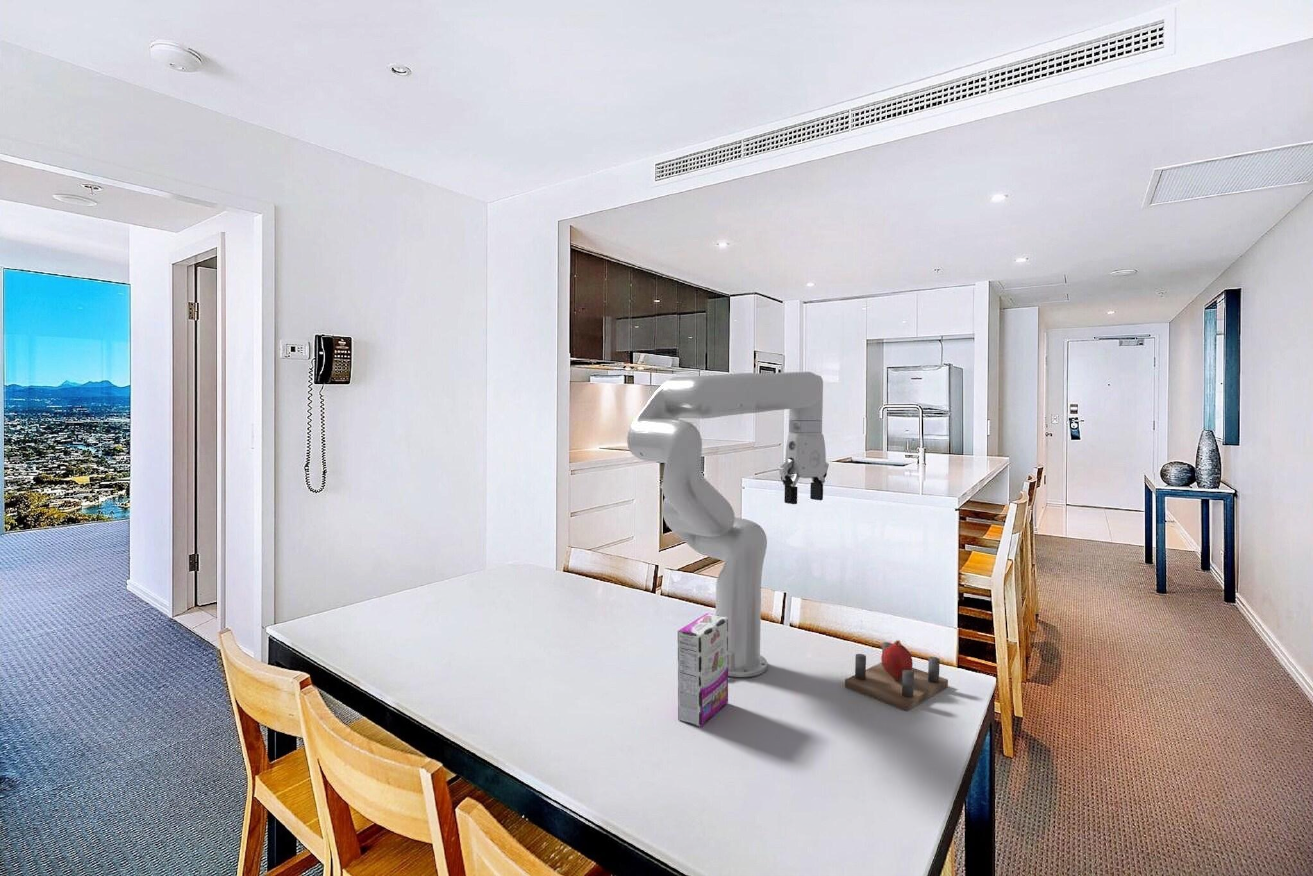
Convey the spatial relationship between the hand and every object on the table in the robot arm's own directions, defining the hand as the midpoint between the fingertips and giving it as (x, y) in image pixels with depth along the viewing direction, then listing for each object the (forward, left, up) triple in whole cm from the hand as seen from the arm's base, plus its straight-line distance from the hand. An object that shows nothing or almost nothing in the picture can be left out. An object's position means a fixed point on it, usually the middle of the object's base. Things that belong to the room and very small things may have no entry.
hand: (803, 501), depth 150 cm
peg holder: (-5, -27, -33) cm, 43 cm away
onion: (-5, -27, -32) cm, 42 cm away
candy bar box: (-42, -10, -34) cm, 55 cm away
